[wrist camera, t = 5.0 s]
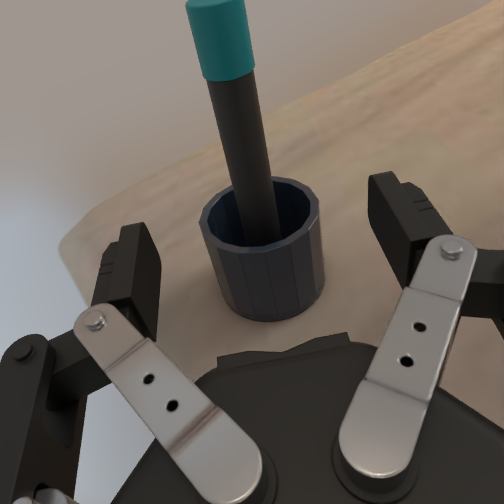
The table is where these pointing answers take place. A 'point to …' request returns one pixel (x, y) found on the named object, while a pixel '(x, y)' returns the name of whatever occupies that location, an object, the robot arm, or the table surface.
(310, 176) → the table surface
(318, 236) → the pen cup
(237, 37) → the marker
